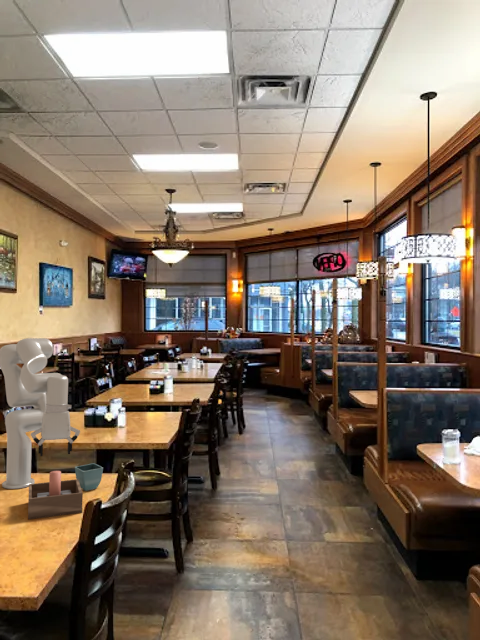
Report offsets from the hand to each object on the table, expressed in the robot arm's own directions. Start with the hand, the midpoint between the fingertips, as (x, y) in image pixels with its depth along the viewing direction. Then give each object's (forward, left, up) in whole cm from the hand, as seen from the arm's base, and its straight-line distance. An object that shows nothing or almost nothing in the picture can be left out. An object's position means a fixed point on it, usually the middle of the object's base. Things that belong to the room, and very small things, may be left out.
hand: (55, 454), depth 183 cm
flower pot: (-18, +14, -20) cm, 30 cm away
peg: (0, 0, -19) cm, 19 cm away
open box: (0, 0, -20) cm, 20 cm away
